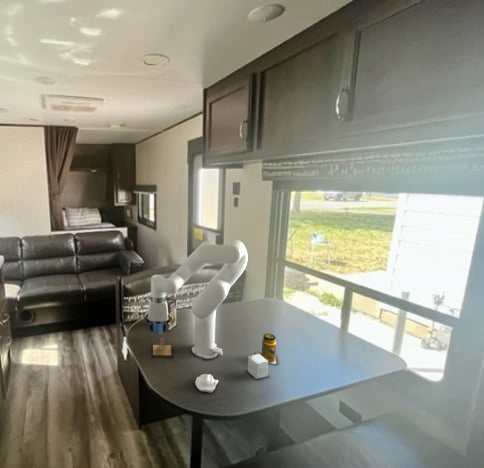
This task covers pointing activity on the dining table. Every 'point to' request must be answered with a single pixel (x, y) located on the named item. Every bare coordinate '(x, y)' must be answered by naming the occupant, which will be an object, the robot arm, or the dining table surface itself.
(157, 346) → the dowel stand
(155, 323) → the spool
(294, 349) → the dining table surface
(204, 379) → the rose
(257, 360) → the product carton
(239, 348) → the dining table surface
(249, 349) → the dining table surface
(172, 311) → the coffee box
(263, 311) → the dining table surface
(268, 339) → the condiment
